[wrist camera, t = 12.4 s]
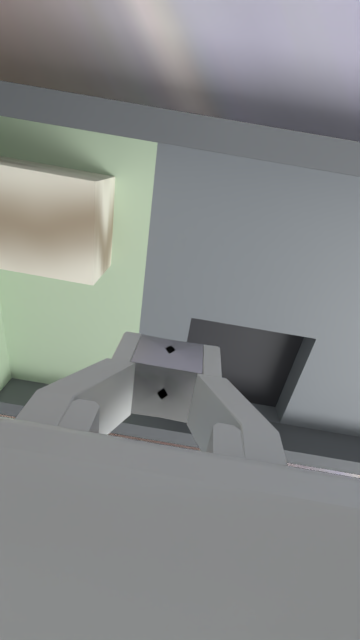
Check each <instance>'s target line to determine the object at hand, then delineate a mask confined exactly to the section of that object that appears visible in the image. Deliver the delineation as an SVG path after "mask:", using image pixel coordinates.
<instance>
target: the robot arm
mask: <svg viewBox="0 0 360 640" xmlns="http://www.w3.org/2000/svg"><path fill="white" fill-rule="evenodd" d="M131 413H132V414H139V415H146V416H153V417H160V418H165V419H170V420H175V421H180V422H185V423H187V426H188V428H189V429H190V431H191V433H192V435H193V437H194V439H195V441H196V443H197V444H198V446H199V448H200V450H201V451H199V450H193V449H187V448H181V447H175V446H170V445H164V444H158V443H152V442H146V441H141V440H135V439H129V438H123V437H117V436H112V435H108V434H109V433H110V432H111V431H112V430H114V429H115V428H116V427H117V426H118V425H119V424H120V423H122V422H123V421H124V420H125V419H126V418H127V417H129V416H130V415H131ZM0 640H360V478H356V477H350V476H344V475H338V474H332V473H327V472H321V471H315V470H309V469H303V468H297V467H292V466H288V465H287V461H286V457H285V453H284V449H283V446H282V442H281V438H280V434H279V432H278V431H277V430H276V429H275V428H274V427H273V425H272V424H271V423H270V422H269V421H268V420H267V419H266V418H265V417H264V416H263V415H262V414H261V413H260V412H259V411H258V410H257V409H256V408H255V407H254V406H253V405H252V404H251V403H250V402H249V401H248V400H247V399H246V398H245V397H244V396H243V395H242V394H241V393H240V392H239V391H238V390H237V389H236V388H235V387H234V386H233V385H232V384H231V383H230V381H229V380H228V379H227V378H222V371H221V356H220V348H219V347H218V346H211V345H203V344H196V343H190V342H183V341H176V340H172V339H166V338H161V337H156V336H150V335H145V334H141V333H134V332H128V331H126V332H125V333H124V334H123V336H122V338H121V340H120V342H119V344H118V346H117V348H116V350H115V352H114V354H113V356H112V358H111V359H110V358H106V359H104V360H101V361H99V362H97V363H95V364H93V365H90V366H88V367H86V368H84V369H82V370H80V371H77V372H75V373H73V374H71V375H69V376H66V377H64V378H62V379H60V380H58V381H56V382H53V383H51V384H49V385H47V386H45V387H42V388H40V389H38V390H36V392H35V393H34V394H33V396H32V397H31V398H30V400H29V401H28V402H27V404H26V405H25V406H24V407H23V409H22V410H21V411H20V413H19V414H18V415H17V417H16V418H15V419H13V418H7V417H1V416H0Z"/></svg>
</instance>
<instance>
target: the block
mask: <svg viewBox="0 0 360 640" xmlns="http://www.w3.org/2000/svg"><path fill="white" fill-rule="evenodd" d="M114 195H115V176H109V175H104V174H98V173H92V172H87V171H81V170H76V169H70V168H65V167H59V166H53V165H48V164H42V163H37V162H31V161H26V160H20V159H14V158H9V157H3V156H0V269H3V270H8V271H14V272H20V273H25V274H31V275H37V276H42V277H48V278H53V279H59V280H65V281H70V282H76V283H82V284H87V285H94V284H95V283H96V282H97V281H98V280H99V278H100V277H101V276H102V275H103V274H104V273H105V271H106V270H107V269H108V268H109V267H110V266H111V255H112V235H113V215H114Z"/></svg>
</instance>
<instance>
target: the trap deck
mask: <svg viewBox="0 0 360 640" xmlns="http://www.w3.org/2000/svg"><path fill="white" fill-rule="evenodd" d="M0 156H3V157H9V158H14V159H20V160H26V161H31V162H37V163H42V164H48V165H53V166H59V167H65V168H70V169H76V170H81V171H87V172H92V173H98V174H104V175H109V176H115V195H114V215H113V235H112V255H111V266H110V267H109V268H108V269H107V270H106V271H105V273H104V274H103V275H102V276H101V277H100V278H99V280H98V281H97V282H96V283H95V284H94V285H87V284H82V283H76V282H70V281H65V280H59V279H53V278H48V277H42V276H37V275H31V274H25V273H20V272H14V271H8V270H3V269H0V414H2V415H8V416H14V417H17V415H18V414H19V413H20V411H21V410H22V409H23V407H24V406H25V405H26V404H27V402H28V401H29V400H30V398H31V397H32V396H33V394H34V393H35V392H36V390H38V389H40V388H42V387H45V386H47V385H49V384H51V383H53V382H56V381H58V380H60V379H62V378H64V377H66V376H69V375H71V374H73V373H75V372H77V371H80V370H82V369H84V368H86V367H88V366H90V365H93V364H95V363H97V362H99V361H101V360H104V359H106V358H110V359H111V358H112V356H113V354H114V352H115V350H116V348H117V346H118V344H119V342H120V340H121V338H122V336H123V334H124V333H125V332H126V331H128V332H134V333H141V334H145V335H150V336H156V337H161V338H166V339H172V340H176V341H183V342H190V343H196V344H203V345H211V346H218V347H219V348H220V356H221V371H222V378H227V379H228V380H229V381H230V383H231V384H232V385H233V386H234V387H235V388H236V389H237V390H238V391H239V392H240V393H241V394H242V395H243V396H244V397H245V398H246V399H247V400H248V401H249V402H250V403H251V404H252V405H253V406H254V407H255V408H256V409H257V410H258V411H259V412H260V413H261V414H262V415H263V416H264V417H265V418H266V419H267V420H268V421H269V422H270V423H271V424H272V425H273V427H274V428H275V429H276V430H277V431H278V432H279V434H280V438H281V442H282V446H283V449H284V453H285V457H286V461H287V463H292V464H298V465H304V466H310V467H316V468H322V469H327V470H333V471H339V472H345V473H351V474H357V475H360V142H358V141H352V140H347V139H341V138H335V137H329V136H323V135H317V134H311V133H305V132H300V131H294V130H288V129H282V128H276V127H270V126H264V125H258V124H252V123H247V122H241V121H235V120H229V119H223V118H217V117H211V116H205V115H200V114H194V113H188V112H182V111H176V110H170V109H164V108H158V107H153V106H147V105H141V104H135V103H129V102H123V101H117V100H111V99H106V98H100V97H94V96H88V95H82V94H76V93H70V92H64V91H59V90H53V89H47V88H41V87H35V86H29V85H23V84H17V83H12V82H6V81H0ZM110 433H115V434H121V435H127V436H132V437H138V438H144V439H150V440H156V441H162V442H168V443H174V444H180V445H186V446H192V447H197V448H199V446H198V444H197V443H196V441H195V439H194V437H193V435H192V433H191V431H190V429H189V428H188V426H187V423H185V422H180V421H175V420H170V419H165V418H160V417H153V416H146V415H139V414H132V413H131V415H130V416H129V417H127V418H126V419H125V420H124V421H123V422H122V423H120V424H119V425H118V426H117V427H116V428H115V429H114V430H112V431H111V432H110Z"/></svg>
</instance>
